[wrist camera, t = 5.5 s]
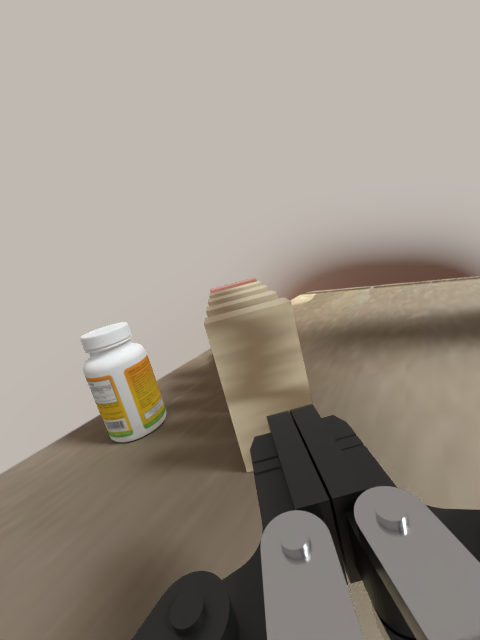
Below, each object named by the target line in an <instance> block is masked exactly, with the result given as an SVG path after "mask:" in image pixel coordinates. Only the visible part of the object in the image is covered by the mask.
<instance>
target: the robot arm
mask: <svg viewBox="0 0 480 640" xmlns="http://www.w3.org/2000/svg"><path fill="white" fill-rule="evenodd" d="M266 417H267V421H268V425H269V429H270V433H267V434H263V435H259V436H256V437H254V440H253V442H252V445H251V448H250V454H251V459H252V464H253V471H254V476H255V483H256V489H257V495H258V500H259V506H260V512H261V518H262V525H263V532H262V538H261V541H260V544H259V546H258V548H257V550H256V552H255V553H254V555H253V556H252V557H251V559H250V560H249V561H248V562H247V563H246V564H244V565H243V566H242V567H241V568H239V569H238V570H236V571H235V572H233V573H232V574H231V575H229V576H228V577H226V578H225V579H223V580H221V579H220V578H219V577H218V576H216V575H215V574H213V573H210V572H206V571H197V572H192V573H190V574H187V575H185V576H183V577H182V578H180V579H179V580H177V581H176V582H175V583H173V584H172V585H171V586H170V587H169V588H168V590H167V591H166V592H165V593H164V595H163V596H162V597H161V599H160V600H159V602H158V603H157V605H156V606H155V607H154V609H153V610H152V612H151V613H150V615H149V616H148V617H147V619H146V620H145V622H144V623H143V624H142V626H141V627H140V629H139V630H138V632H137V633H136V634H135V636H134V637H133V639H132V640H364V637H363V634H362V631H361V628H360V624H359V621H358V618H357V615H356V612H355V609H354V606H353V603H352V599H351V596H350V593H349V590H348V587H347V585H348V582H347V578H346V573H347V575H348V578H349V580H350V583H354V582H357V581H361V580H362V581H363V583H364V586H365V588H366V590H367V592H368V595H369V597H370V599H371V602H372V607H373V612H374V616H375V620H376V623H377V625H378V628H379V630H380V632H381V634H382V636H383V638H384V640H480V510H465V509H441V508H435V507H431V506H427V505H425V504H424V503H423V502H422V501H421V500H420V499H419V498H417V497H416V496H414V495H413V494H411V493H409V492H408V491H405V490H403V489H400V488H397V487H396V486H395V484H394V483H393V482H392V480H391V479H390V478H389V476H388V475H387V474H386V473H385V471H384V470H383V469H382V467H381V466H380V465H379V463H378V462H377V461H376V460H375V458H374V457H373V456H372V454H371V453H370V452H369V451H368V449H367V448H366V447H365V446H364V445H363V443H362V441H361V440H360V439H359V438H358V436H356V434H355V432H354V431H353V430H352V428H351V427H350V426H349V425H348V423H347V422H345V421H343V420H341V419H339V418H338V417H336V416H334V415H332V416H328V417H325V418H321V417H320V415H319V414H318V412H317V411H316V409H315V408H314V406H313V405H312V404H309V405H305V406H302V407H298V408H294V409H291V410H290V413H289V411H284V412H280V413H277V414H273V415H269V416H266ZM344 568H345V569H344ZM345 570H346V573H345Z"/></svg>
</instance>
